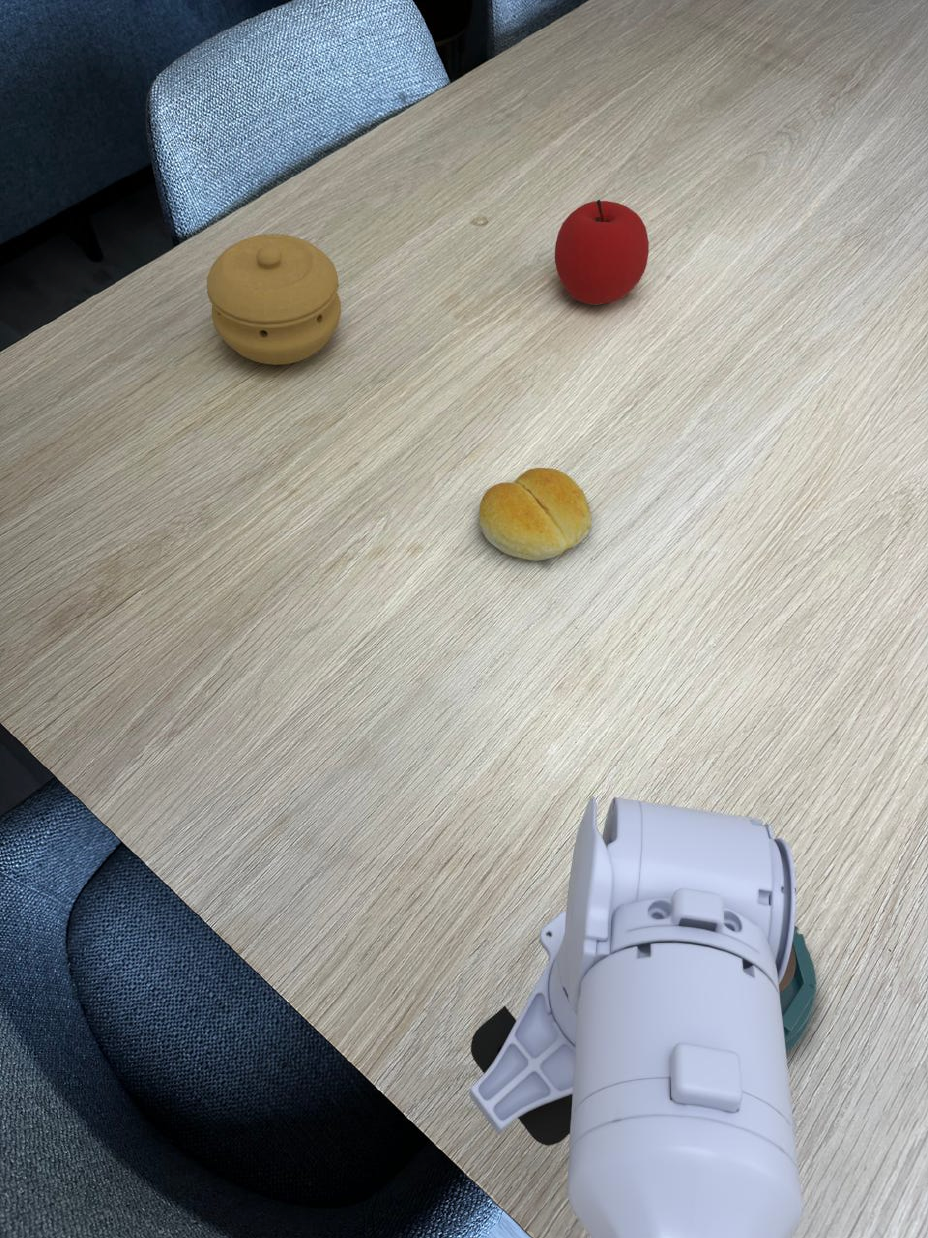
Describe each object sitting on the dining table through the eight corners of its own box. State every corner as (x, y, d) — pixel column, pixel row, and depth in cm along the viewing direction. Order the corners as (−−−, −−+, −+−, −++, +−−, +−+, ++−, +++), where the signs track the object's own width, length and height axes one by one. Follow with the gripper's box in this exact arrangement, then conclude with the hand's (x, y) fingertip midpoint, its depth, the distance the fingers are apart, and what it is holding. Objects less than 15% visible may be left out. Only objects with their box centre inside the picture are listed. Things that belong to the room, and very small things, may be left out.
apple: (626, 328, 100) (644, 237, 92) (537, 306, 102) (547, 214, 94) (650, 274, 105) (669, 183, 97) (565, 253, 107) (576, 162, 99)
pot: (202, 319, 99) (182, 227, 91) (317, 289, 102) (308, 197, 94) (240, 397, 93) (222, 305, 85) (362, 362, 96) (356, 271, 88)
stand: (828, 1062, 61) (851, 1046, 58) (663, 1078, 61) (676, 1062, 57) (783, 899, 67) (801, 876, 64) (632, 911, 66) (642, 888, 63)
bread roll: (461, 512, 86) (462, 479, 83) (551, 474, 89) (556, 440, 85) (513, 581, 82) (517, 549, 78) (606, 539, 85) (613, 506, 81)
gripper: (688, 784, 45) (637, 882, 56) (421, 1005, 40) (427, 1063, 51) (813, 912, 42) (733, 987, 53) (543, 1167, 37) (520, 1189, 48)
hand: (589, 1032), depth 52 cm, fingers open, 7 cm apart
